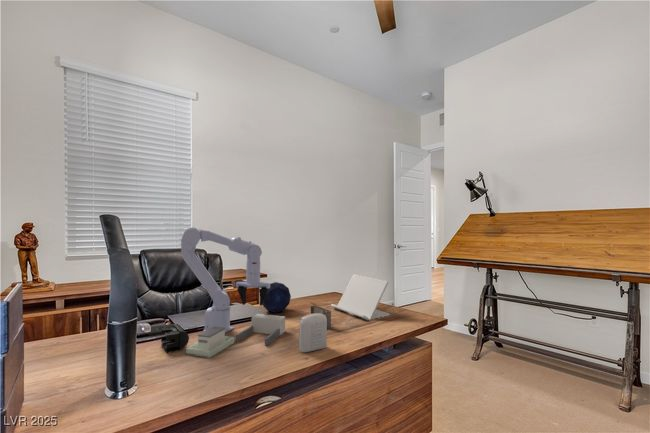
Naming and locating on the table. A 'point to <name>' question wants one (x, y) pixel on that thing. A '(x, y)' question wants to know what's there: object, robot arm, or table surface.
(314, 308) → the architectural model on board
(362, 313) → the tablet stand
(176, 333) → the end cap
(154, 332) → the smart home device
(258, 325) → the printer bay
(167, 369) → the table surface
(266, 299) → the decorative orb
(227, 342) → the tray
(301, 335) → the photo printer
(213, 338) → the grey rectangular block
